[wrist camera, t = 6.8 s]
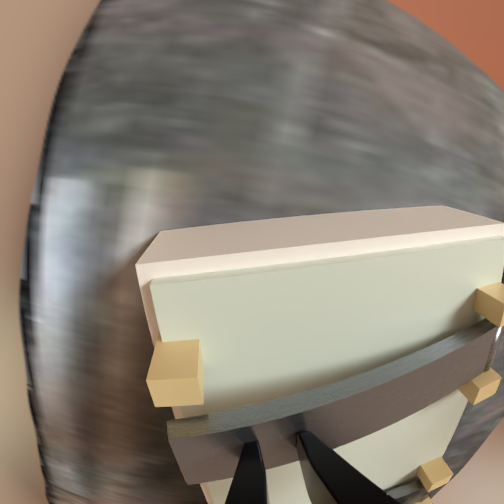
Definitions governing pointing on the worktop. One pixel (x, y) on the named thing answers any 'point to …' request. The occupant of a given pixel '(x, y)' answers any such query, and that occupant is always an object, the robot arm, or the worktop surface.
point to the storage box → (321, 322)
